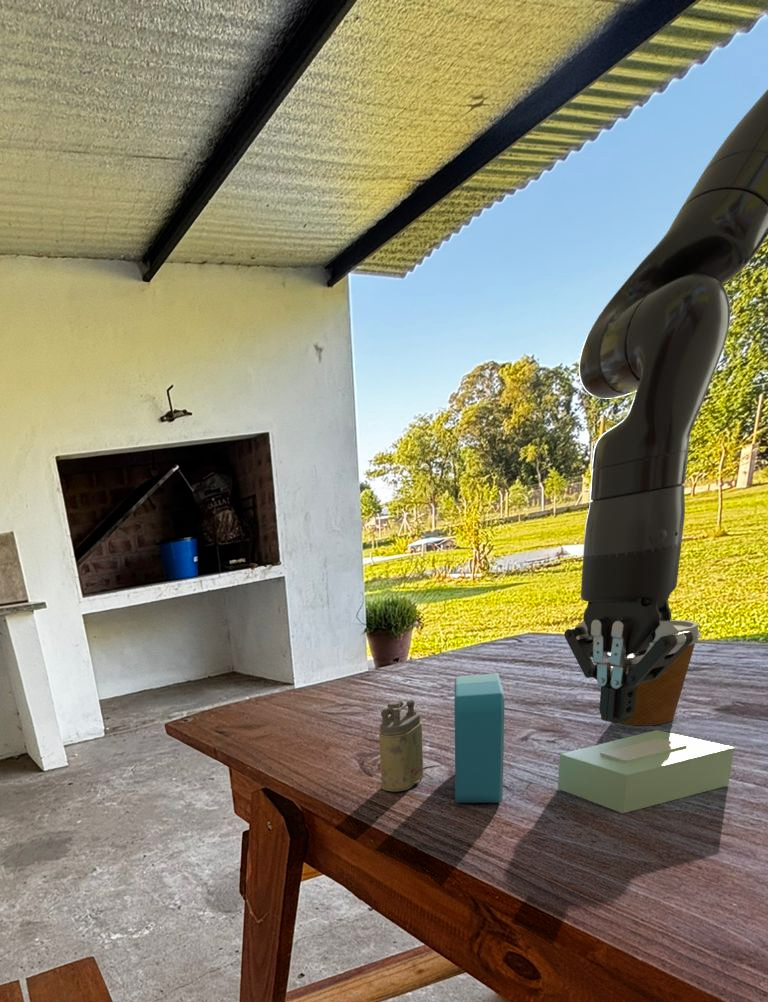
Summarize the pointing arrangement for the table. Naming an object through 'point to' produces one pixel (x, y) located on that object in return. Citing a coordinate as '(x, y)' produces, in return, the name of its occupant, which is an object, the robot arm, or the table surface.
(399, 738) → the lighter
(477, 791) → the data package
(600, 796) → the tissue box
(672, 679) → the disposable coffee cup
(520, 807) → the table surface
